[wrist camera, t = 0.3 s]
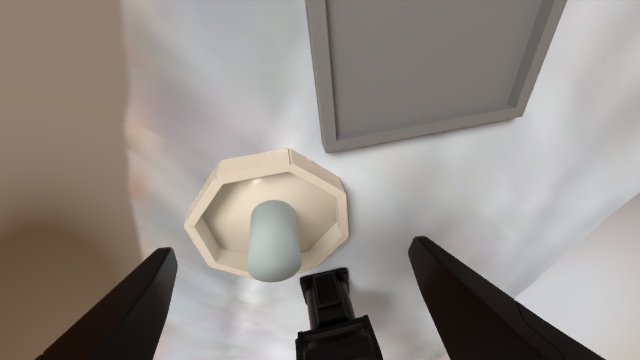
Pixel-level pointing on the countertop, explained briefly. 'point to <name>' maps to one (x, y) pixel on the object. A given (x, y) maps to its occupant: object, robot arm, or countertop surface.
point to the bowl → (259, 186)
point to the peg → (273, 242)
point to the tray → (423, 64)
